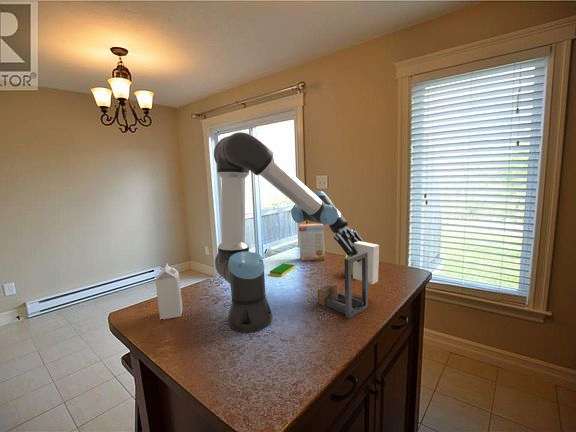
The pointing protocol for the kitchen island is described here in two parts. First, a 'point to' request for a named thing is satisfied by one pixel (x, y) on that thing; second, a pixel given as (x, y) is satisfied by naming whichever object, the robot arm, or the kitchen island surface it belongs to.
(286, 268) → the dish sponge
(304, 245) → the cracker box
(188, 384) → the kitchen island surface
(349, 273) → the frame
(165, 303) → the milk carton
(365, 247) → the white block
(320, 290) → the offcut stack
